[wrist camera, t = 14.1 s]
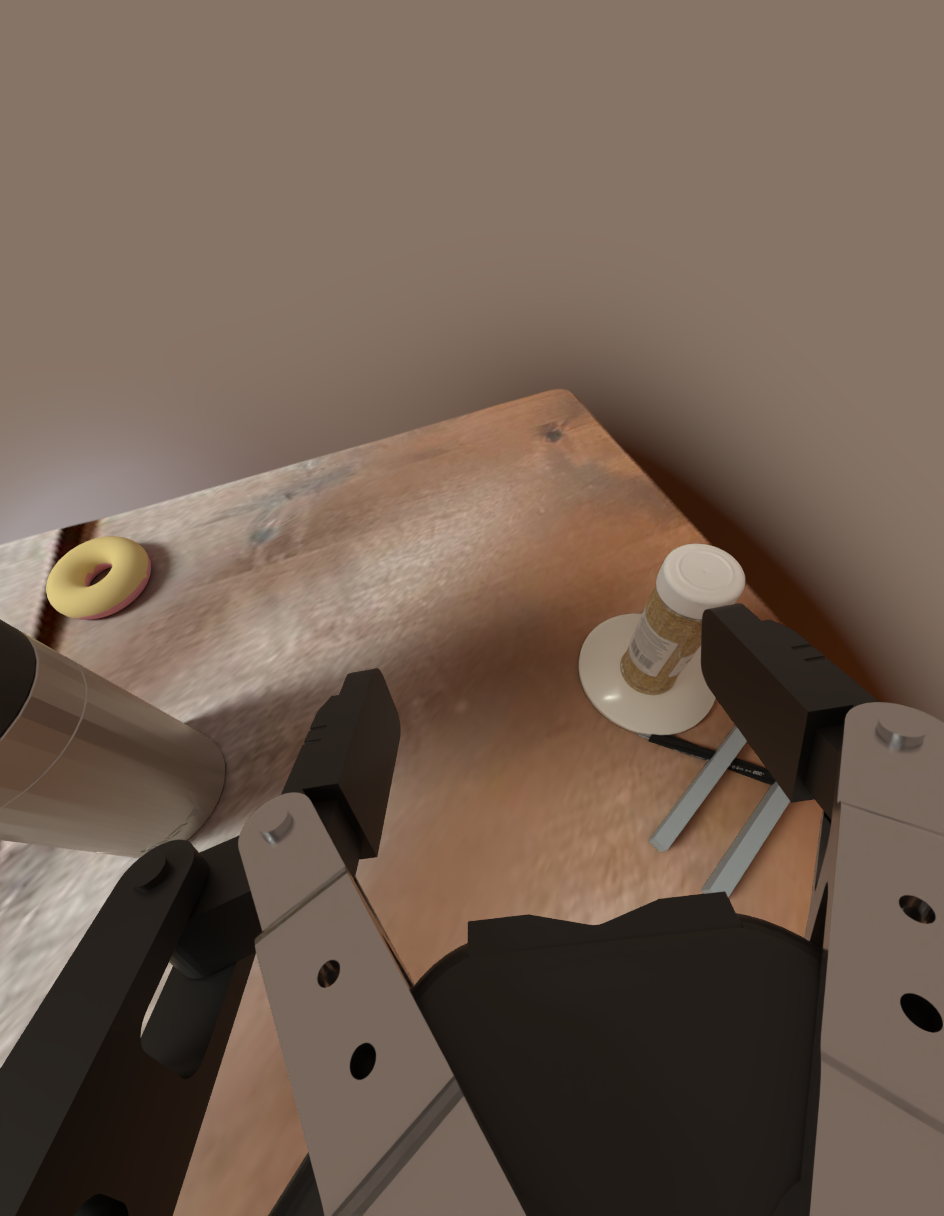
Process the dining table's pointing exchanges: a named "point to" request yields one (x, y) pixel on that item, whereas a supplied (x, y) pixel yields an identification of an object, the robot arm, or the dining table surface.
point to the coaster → (625, 703)
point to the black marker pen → (710, 756)
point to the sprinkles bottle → (679, 615)
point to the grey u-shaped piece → (750, 834)
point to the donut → (85, 563)
